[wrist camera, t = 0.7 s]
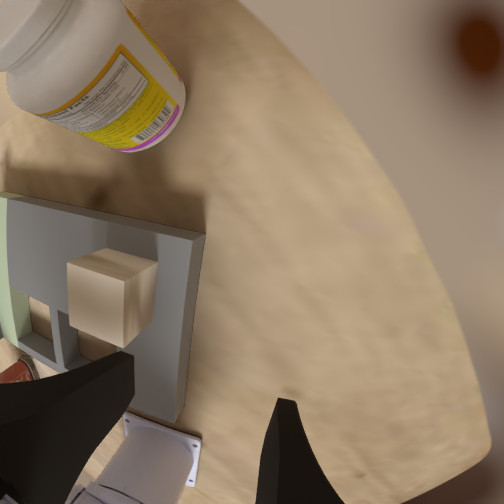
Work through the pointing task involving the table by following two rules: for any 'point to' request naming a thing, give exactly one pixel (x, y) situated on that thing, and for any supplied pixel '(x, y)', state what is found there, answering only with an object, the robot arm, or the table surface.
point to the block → (111, 295)
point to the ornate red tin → (20, 371)
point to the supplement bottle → (89, 71)
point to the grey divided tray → (56, 294)
